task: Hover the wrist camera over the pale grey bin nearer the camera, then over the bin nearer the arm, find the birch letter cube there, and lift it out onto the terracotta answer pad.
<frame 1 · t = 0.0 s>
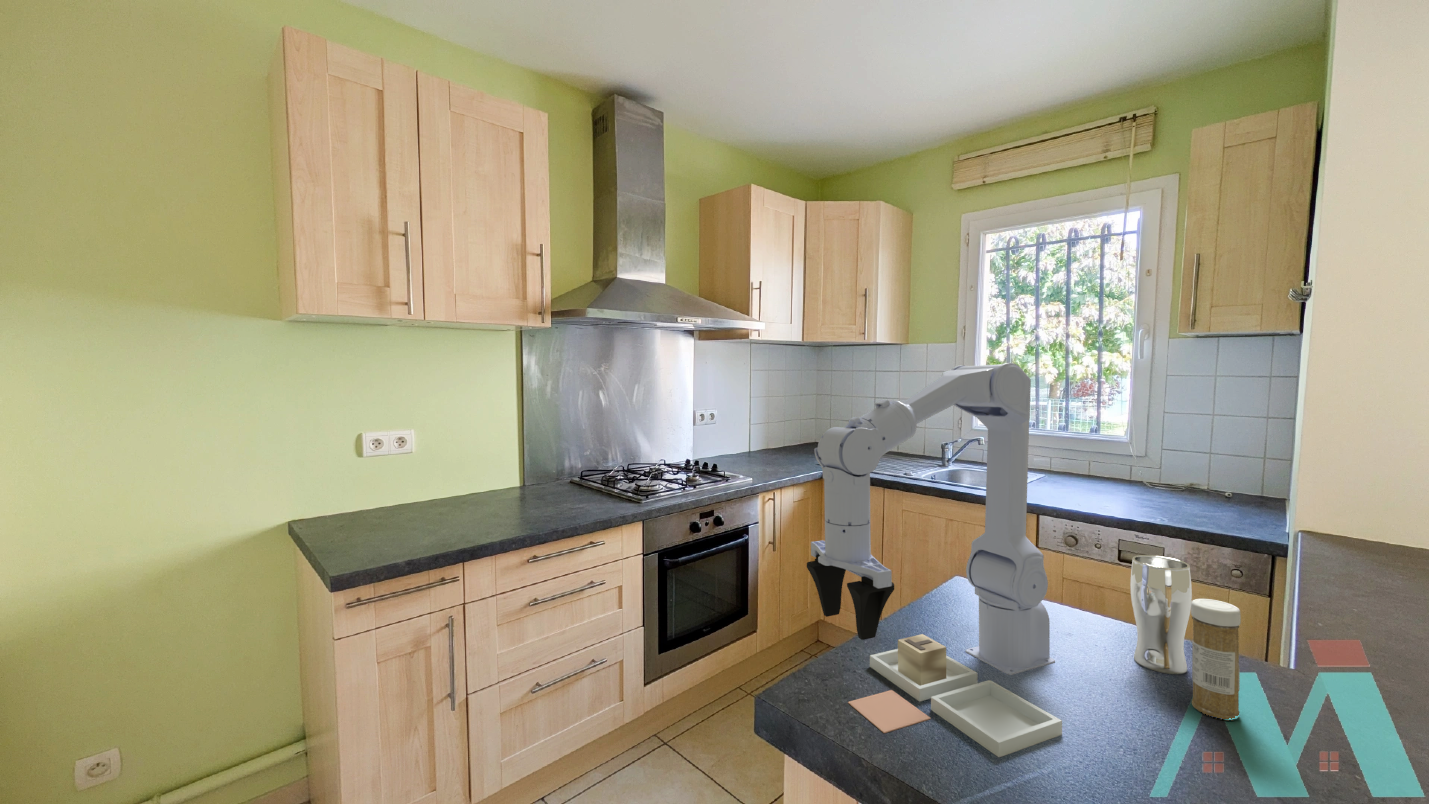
hand: (848, 625, 73), 10 cm above the counter, fingers open, 7 cm apart
bin near arm: (921, 678, 79), on the counter
bin near camera: (993, 724, 68), on the counter
letter cube: (921, 675, 79), resting on bin near arm
answer pad: (888, 713, 71), on the counter
beer glass: (1159, 665, 82), on the counter
sprinkles bottle: (1214, 713, 70), on the counter
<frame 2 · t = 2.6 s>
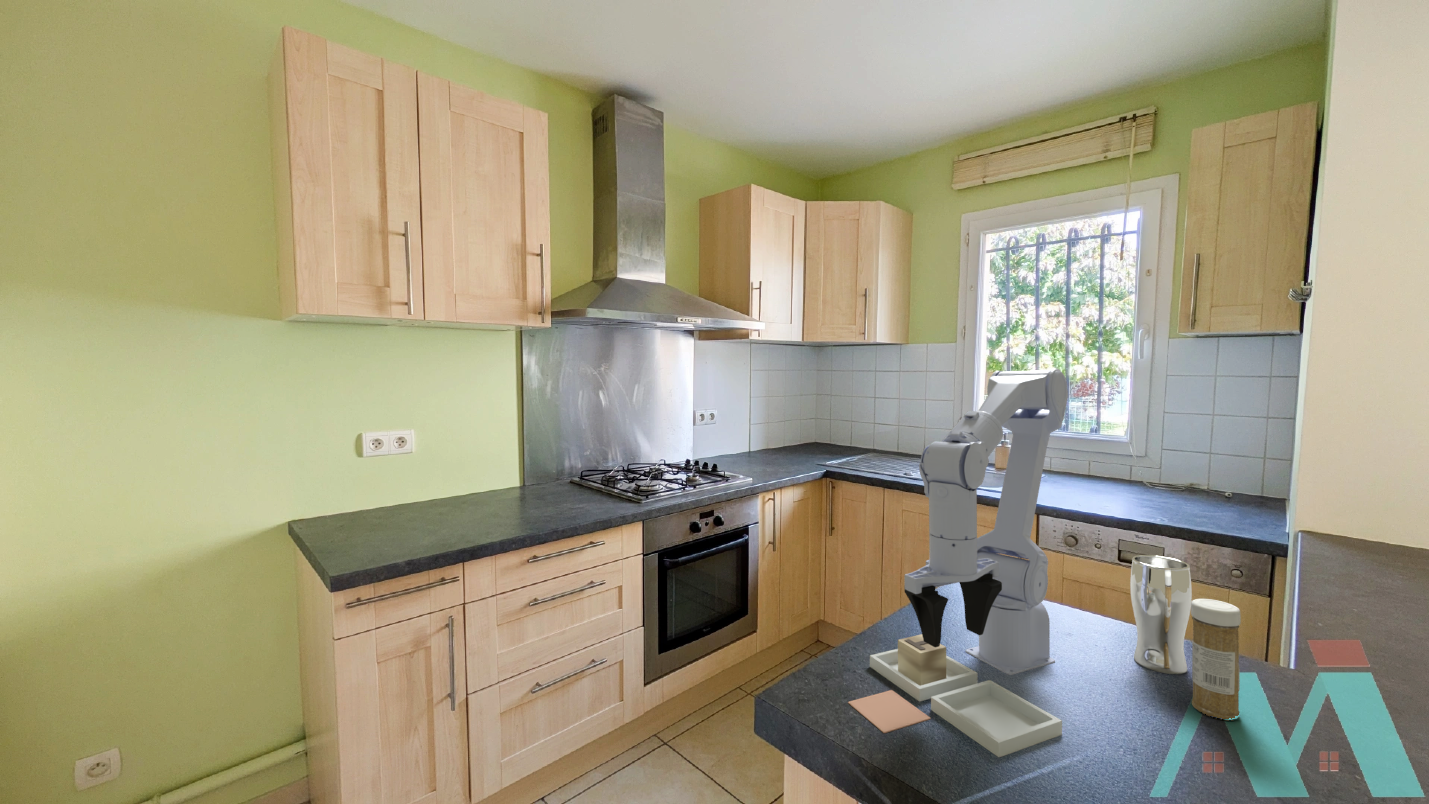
hand: (953, 637, 74), 8 cm above the counter, fingers open, 7 cm apart
nothing on the counter moved.
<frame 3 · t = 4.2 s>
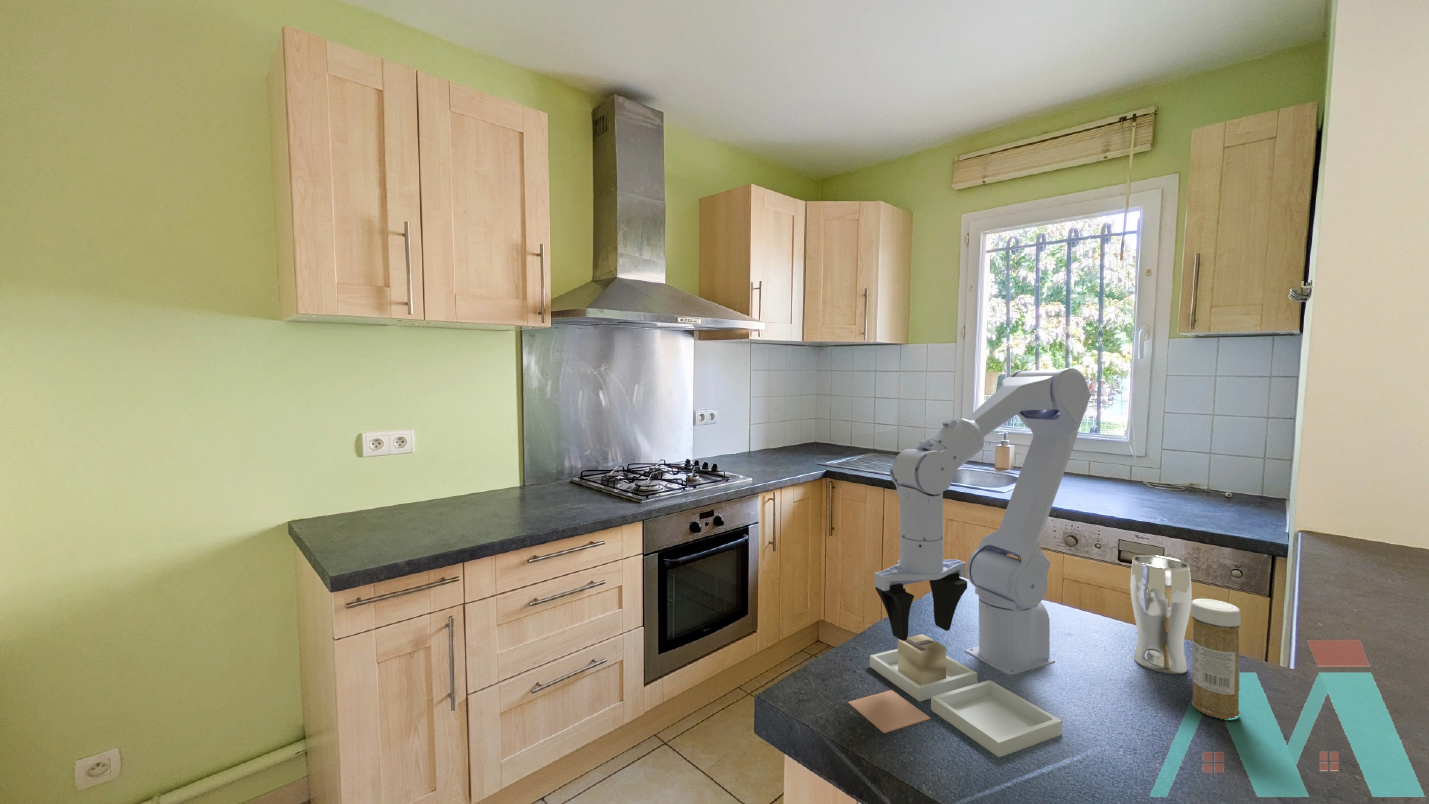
hand: (921, 632, 79), 6 cm above the counter, fingers open, 7 cm apart
nothing on the counter moved.
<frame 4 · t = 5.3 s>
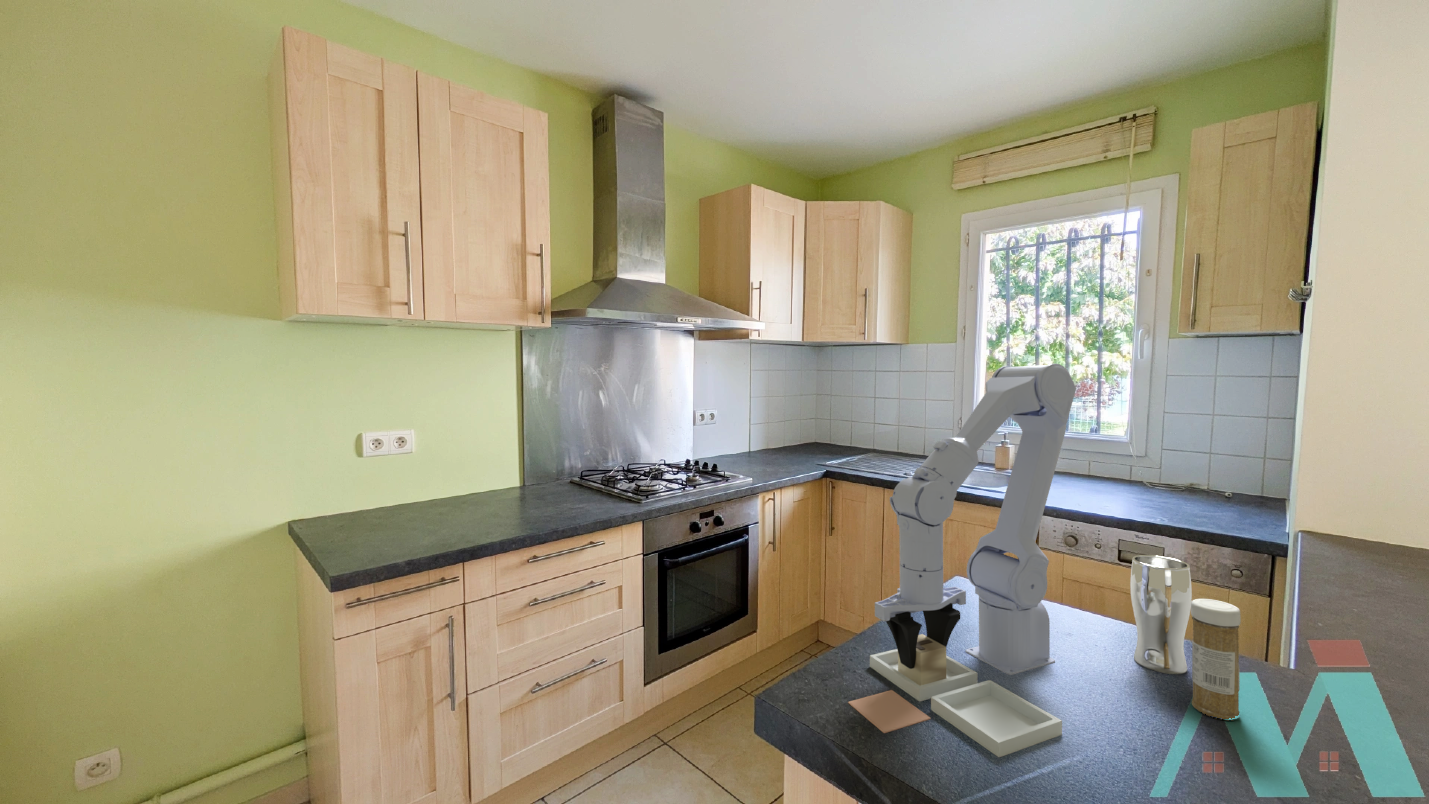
hand: (921, 661, 79), 2 cm above the counter, fingers closed on letter cube, 4 cm apart
letter cube: (921, 675, 79), resting on bin near arm, touching gripper
everything else where it was.
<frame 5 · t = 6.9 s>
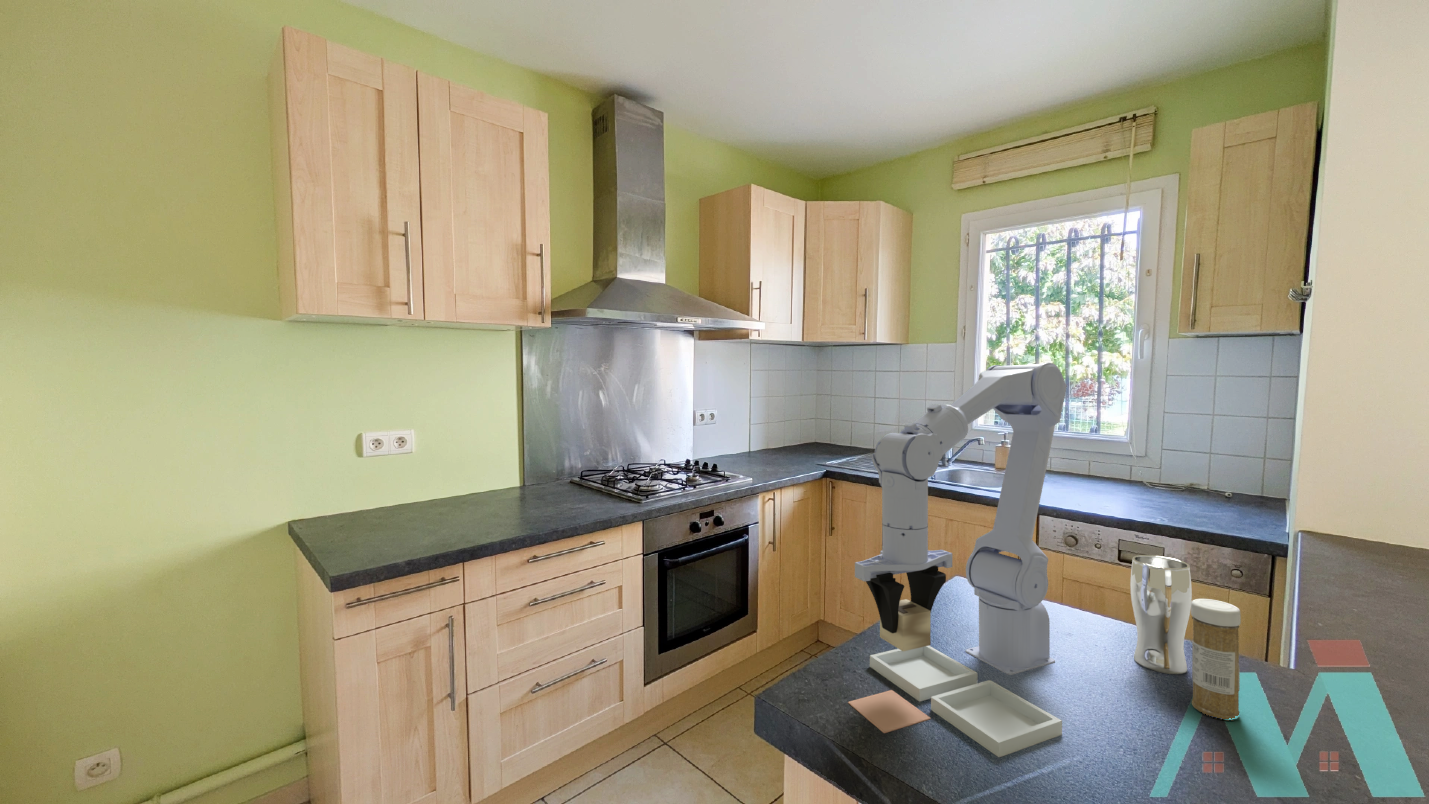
hand: (904, 626, 75), 9 cm above the counter, fingers closed on letter cube, 4 cm apart
letter cube: (904, 641, 75), point 7 cm above the counter, touching gripper
everything else where it was.
when the fingers open (3 cm above the counter, at t = 8.6 s): letter cube stays where it is, resting on answer pad.
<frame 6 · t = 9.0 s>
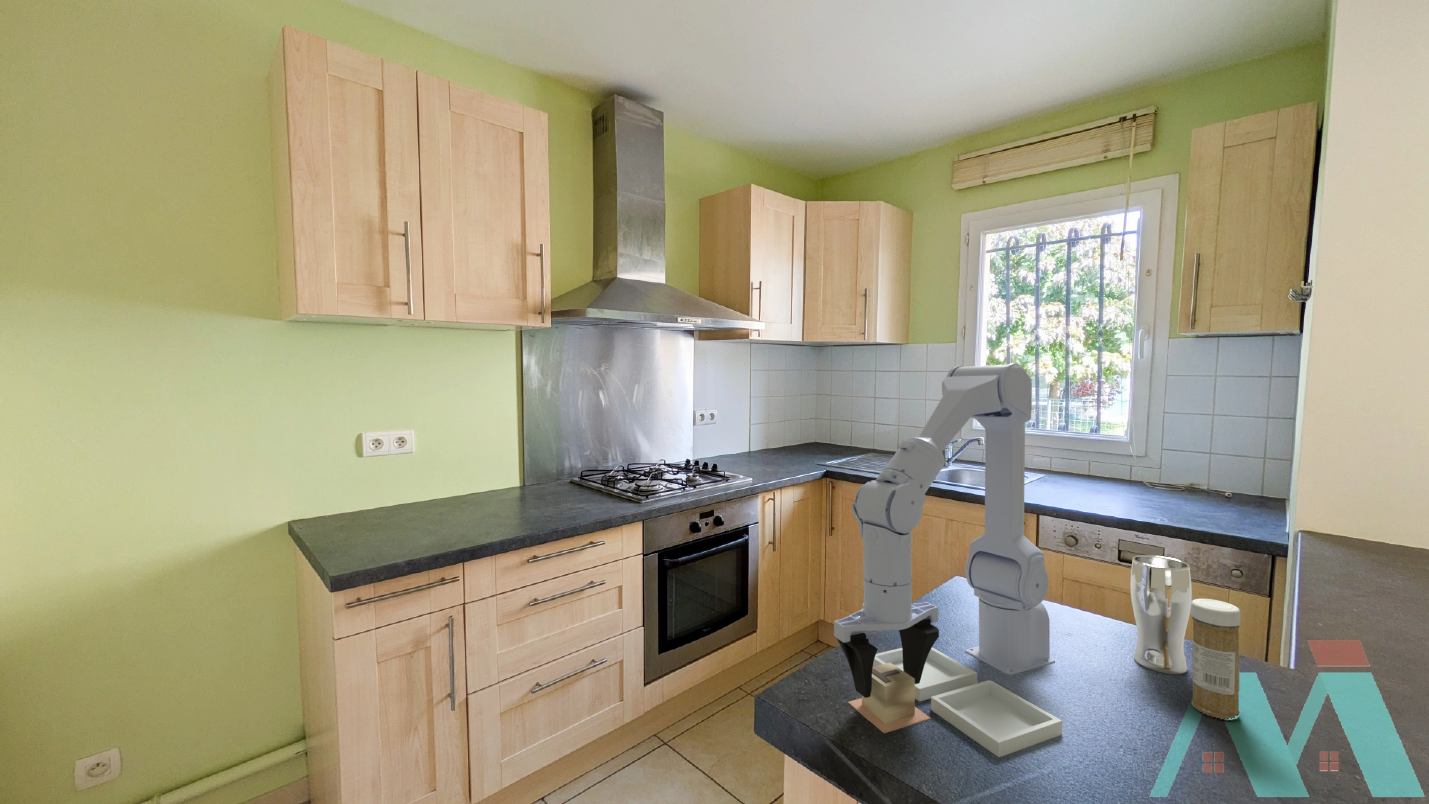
hand: (888, 686, 70), 3 cm above the counter, fingers open, 7 cm apart
letter cube: (887, 709, 71), resting on answer pad
everything else where it was.
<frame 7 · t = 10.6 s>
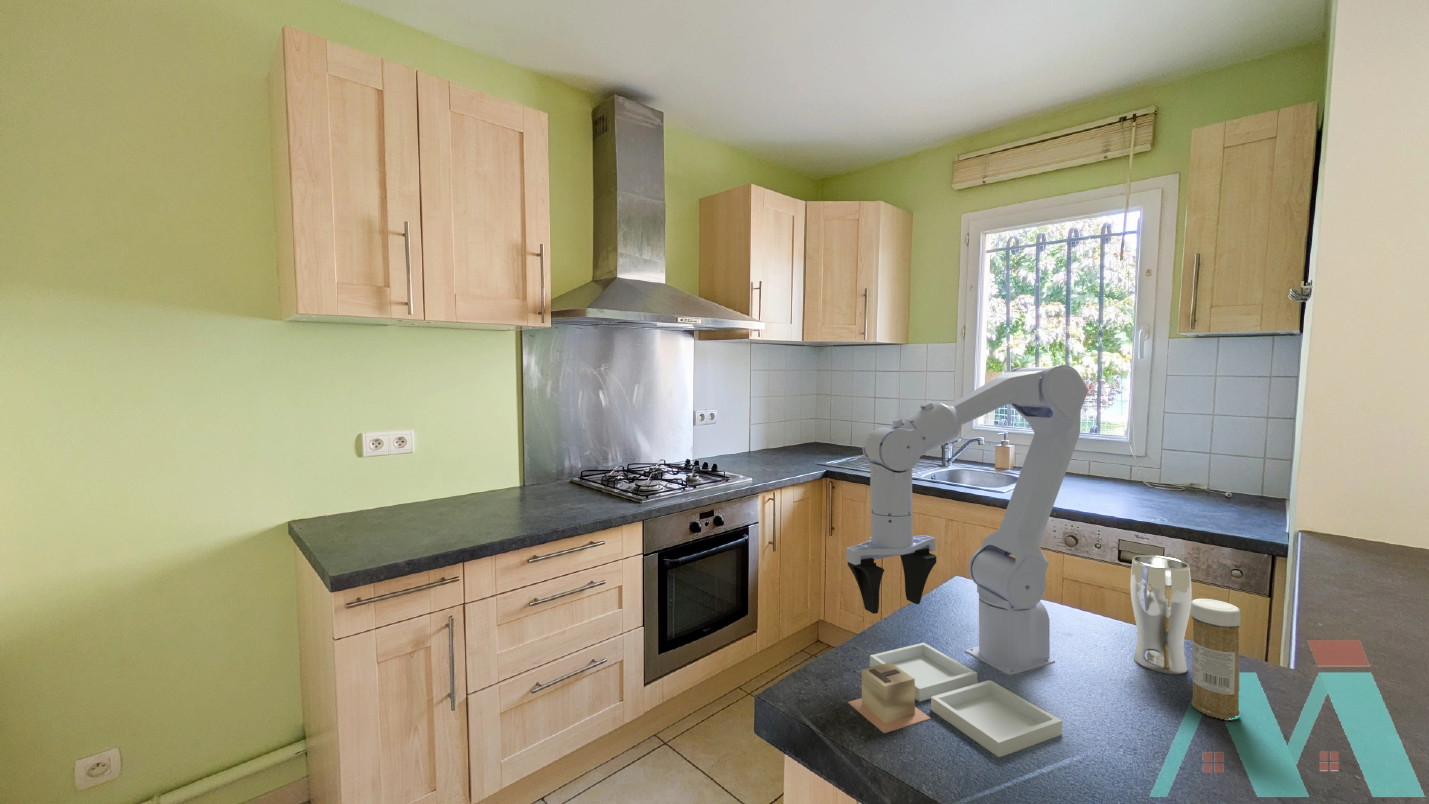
hand: (892, 606, 81), 9 cm above the counter, fingers open, 7 cm apart
nothing on the counter moved.
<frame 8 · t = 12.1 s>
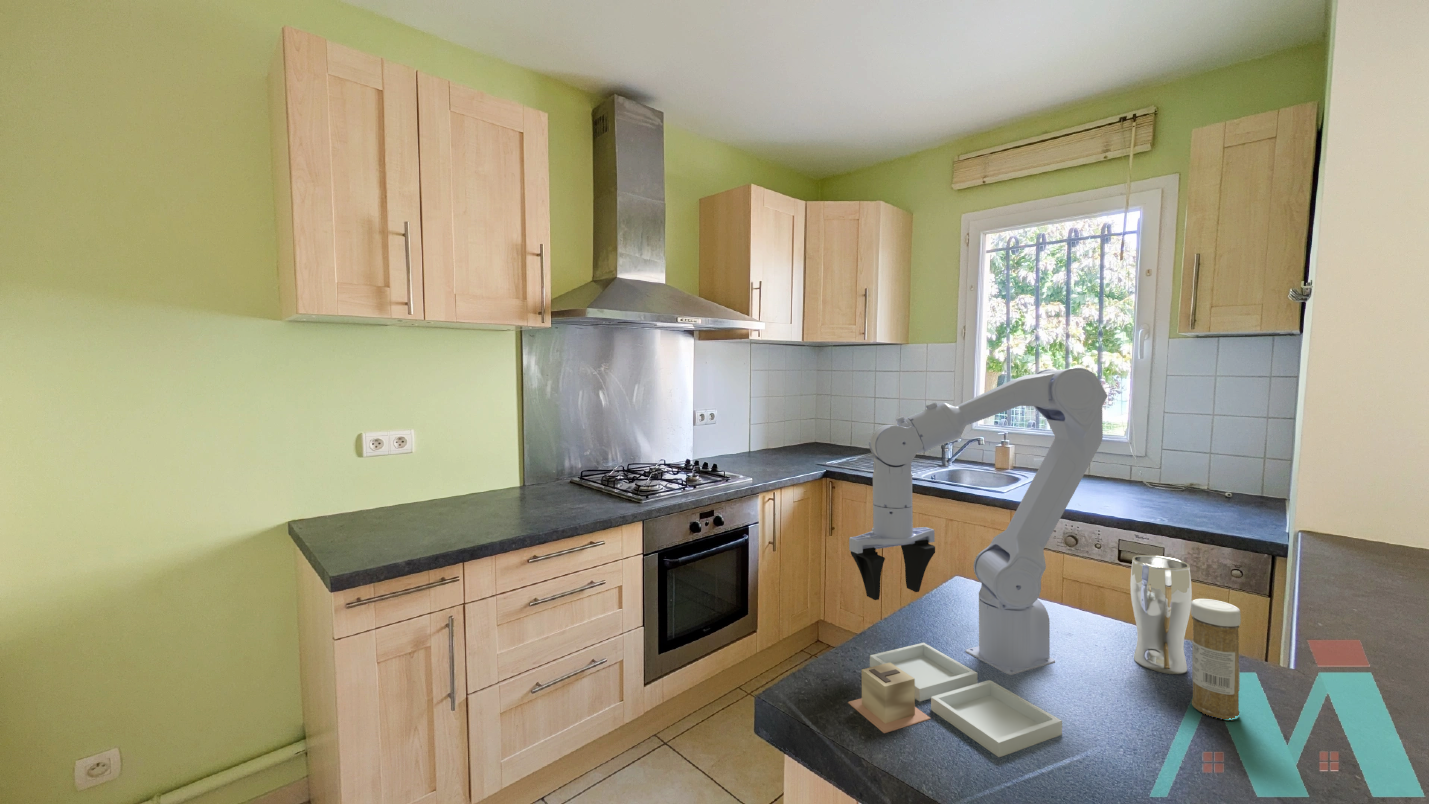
hand: (893, 593, 86), 9 cm above the counter, fingers open, 7 cm apart
nothing on the counter moved.
at the end: letter cube 0.0 cm off-centre on the answer pad, point 0.5 cm above the answer pad's base; letter cube tilted 0°; the gripper is holding nothing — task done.
